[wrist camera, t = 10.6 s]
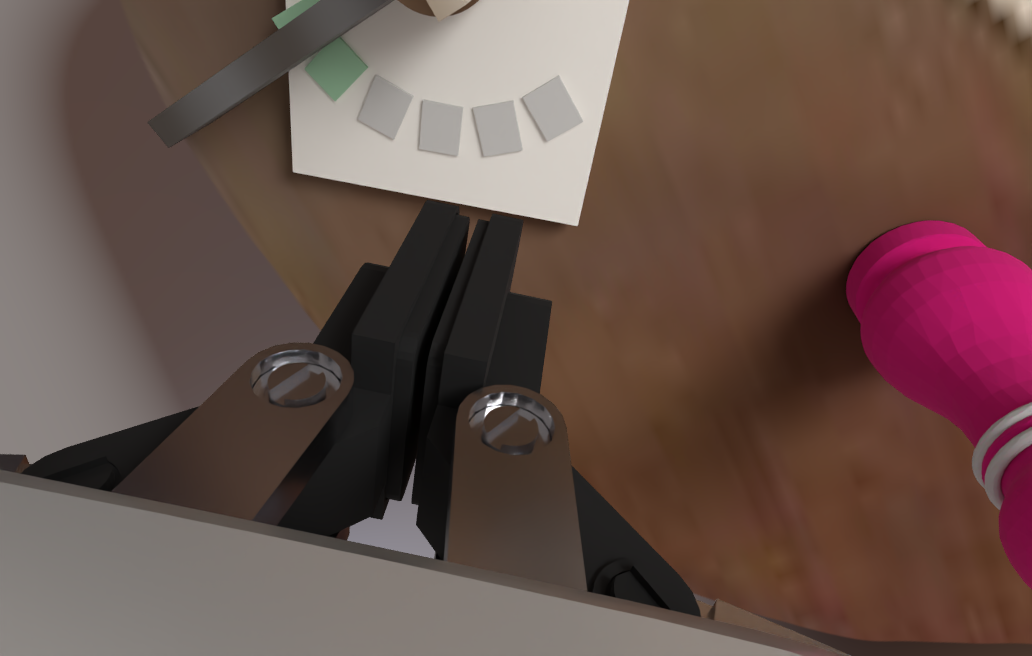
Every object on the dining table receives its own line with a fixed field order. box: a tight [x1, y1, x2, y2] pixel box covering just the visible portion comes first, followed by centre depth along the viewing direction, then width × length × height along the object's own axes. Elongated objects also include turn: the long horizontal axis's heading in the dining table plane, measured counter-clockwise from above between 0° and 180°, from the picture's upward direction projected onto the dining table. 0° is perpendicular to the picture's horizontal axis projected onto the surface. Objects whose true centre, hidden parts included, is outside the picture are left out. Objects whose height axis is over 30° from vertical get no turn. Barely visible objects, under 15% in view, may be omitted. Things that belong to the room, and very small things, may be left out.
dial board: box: [272, 0, 629, 226], centre depth 27 cm, size 16×15×2 cm
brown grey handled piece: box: [148, 0, 479, 147], centre depth 24 cm, size 16×4×6 cm, turn 120°
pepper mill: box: [846, 221, 1032, 589], centre depth 24 cm, size 7×7×20 cm
